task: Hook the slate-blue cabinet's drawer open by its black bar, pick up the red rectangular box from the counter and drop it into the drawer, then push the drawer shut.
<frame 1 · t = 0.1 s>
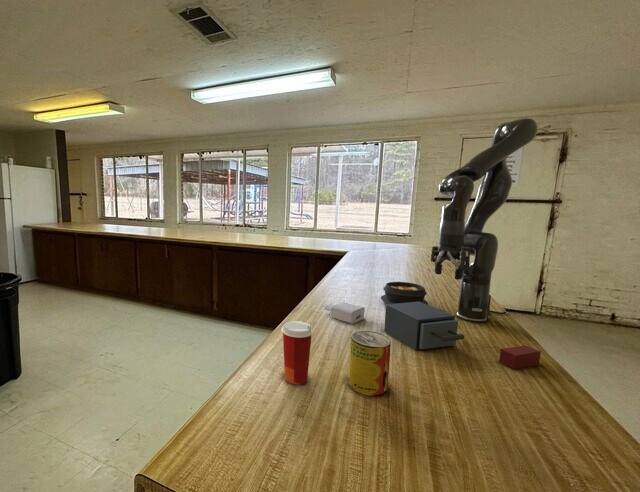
hand: (447, 276, 117), 17 cm above the worktop, tool pointing down, fingers open, 8 cm apart
casserole: (403, 305, 139), on the worktop
charger: (340, 316, 125), on the worktop
paper cup: (295, 379, 81), on the worktop
cabinet: (416, 337, 105), on the worktop
drawer: (428, 329, 100), point 5 cm above the worktop, slide at 0.5 cm
food can: (367, 385, 78), on the worktop
red rectangular box: (518, 363, 88), on the worktop
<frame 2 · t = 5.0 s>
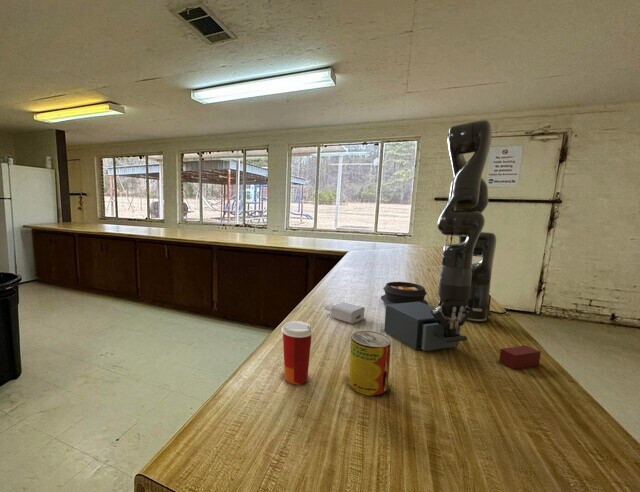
hand: (449, 339, 92), 5 cm above the worktop, tool pointing down, fingers closed
drawer: (431, 330, 99), point 5 cm above the worktop, slide at 1.4 cm, touching gripper
everything else where it was.
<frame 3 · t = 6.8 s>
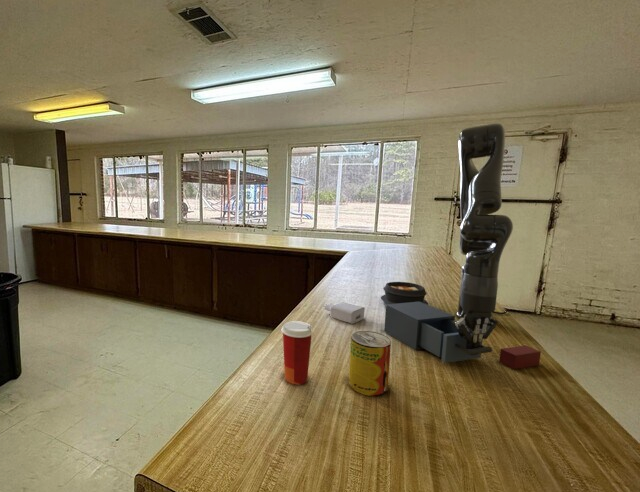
hand: (471, 353, 86), 4 cm above the worktop, tool pointing down, fingers closed
drawer: (451, 340, 92), point 5 cm above the worktop, slide at 8.6 cm
everything else where it was.
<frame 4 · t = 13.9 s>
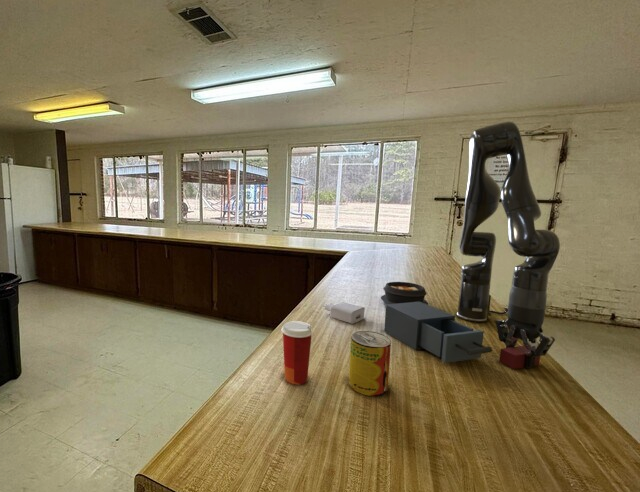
hand: (518, 362, 88), 0 cm above the worktop, tool pointing down, fingers closed on red rectangular box, 4 cm apart
red rectangular box: (518, 363, 88), on the worktop, touching gripper
everything else where it was.
when the fingers open (7 cm above the worktop, at t = 19.8 s): red rectangular box drops 5 cm, resting on drawer.
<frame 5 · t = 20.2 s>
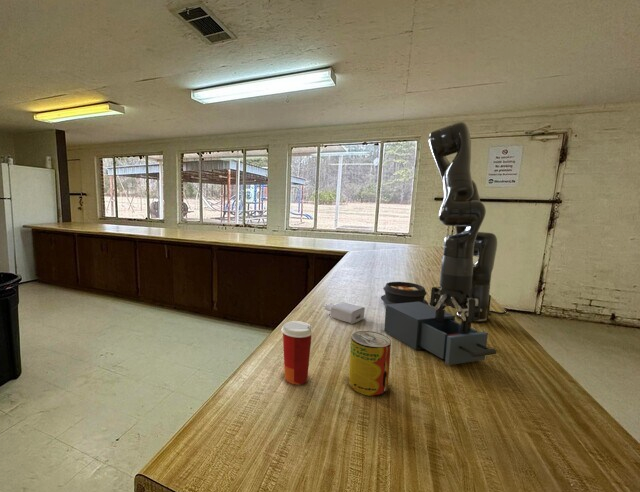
hand: (451, 327, 92), 9 cm above the worktop, tool pointing down, fingers open, 8 cm apart
drawer: (454, 342, 91), point 5 cm above the worktop, slide at 9.8 cm, touching red rectangular box
red rectangular box: (451, 350, 92), point 2 cm above the worktop, touching drawer
everything else where it was.
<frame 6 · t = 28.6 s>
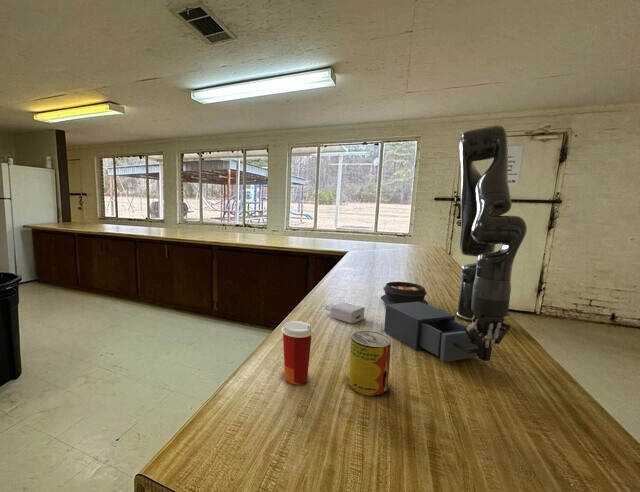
hand: (483, 359, 83), 4 cm above the worktop, tool pointing down, fingers closed
drawer: (449, 339, 92), point 5 cm above the worktop, slide at 8.1 cm, touching gripper, red rectangular box
red rectangular box: (446, 347, 94), point 2 cm above the worktop, touching drawer
everything else where it was.
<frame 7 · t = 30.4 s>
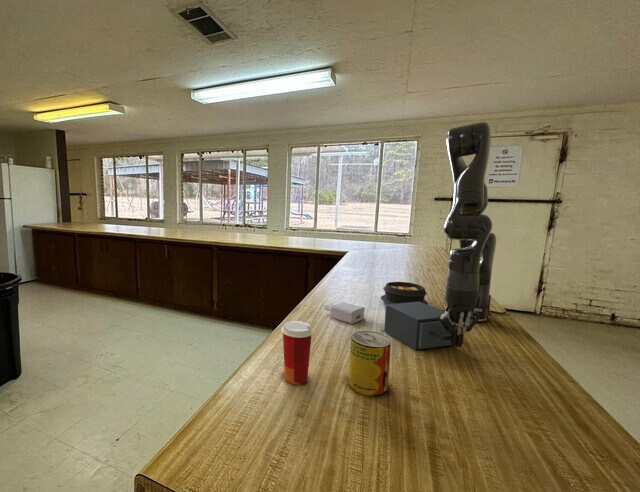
hand: (456, 345, 91), 4 cm above the worktop, tool pointing down, fingers closed
drawer: (427, 328, 100), point 5 cm above the worktop, slide at 0.0 cm, touching cabinet, gripper, red rectangular box
red rectangular box: (424, 336, 102), point 2 cm above the worktop, touching drawer
everything else where it was.
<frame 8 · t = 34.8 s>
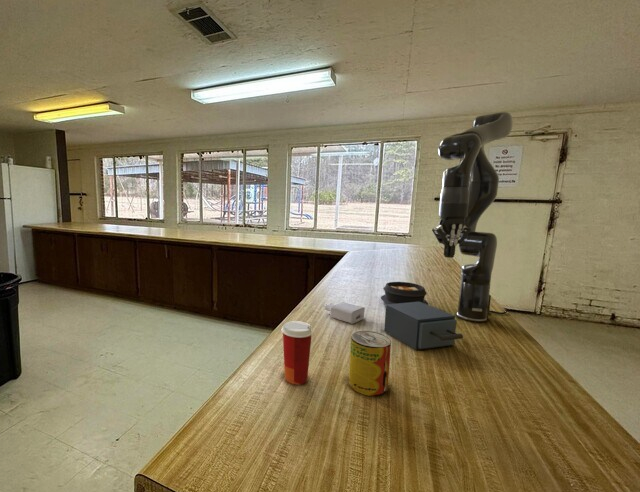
hand: (448, 257, 101), 27 cm above the worktop, tool pointing down, fingers closed
drawer: (427, 328, 100), point 5 cm above the worktop, slide at 0.0 cm, touching red rectangular box
everything else where it was.
at the end: red rectangular box inside the target area in the cabinet (3.3 cm from its centre), point 2.0 cm above the cabinet's base; drawer slide at 0.0 cm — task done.
